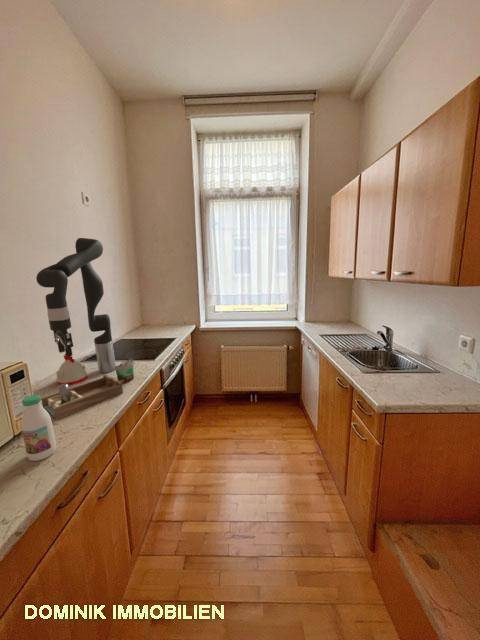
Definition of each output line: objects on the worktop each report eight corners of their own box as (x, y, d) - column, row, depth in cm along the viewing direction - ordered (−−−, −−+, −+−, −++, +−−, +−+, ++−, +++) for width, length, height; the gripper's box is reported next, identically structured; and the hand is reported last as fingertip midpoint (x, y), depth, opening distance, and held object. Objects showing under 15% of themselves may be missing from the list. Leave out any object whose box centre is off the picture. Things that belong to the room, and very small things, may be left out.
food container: (127, 385, 137) (124, 366, 135) (116, 384, 138) (114, 366, 136) (140, 375, 148) (138, 358, 146) (130, 374, 150) (128, 357, 148)
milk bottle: (38, 446, 91) (26, 392, 87) (61, 444, 92) (51, 391, 87) (22, 463, 83) (8, 404, 79) (48, 460, 84) (36, 403, 80)
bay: (43, 408, 116) (40, 396, 115) (106, 384, 138) (105, 374, 137) (56, 420, 107) (54, 407, 106) (123, 392, 128) (121, 382, 127)
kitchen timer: (77, 373, 154) (73, 348, 151) (92, 377, 148) (88, 351, 145) (52, 383, 142) (47, 356, 139) (67, 387, 136) (62, 359, 133)
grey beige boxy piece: (48, 405, 116) (44, 386, 114) (73, 396, 124) (70, 377, 122) (58, 413, 109) (54, 393, 107) (84, 403, 117) (81, 384, 115)
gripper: (43, 317, 114) (50, 353, 118) (54, 321, 105) (61, 360, 109) (63, 314, 120) (69, 348, 123) (75, 318, 111) (81, 355, 115)
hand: (65, 354), depth 116 cm, fingers open, 8 cm apart
